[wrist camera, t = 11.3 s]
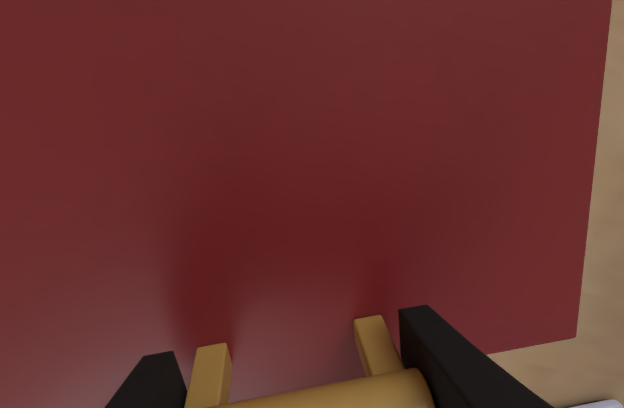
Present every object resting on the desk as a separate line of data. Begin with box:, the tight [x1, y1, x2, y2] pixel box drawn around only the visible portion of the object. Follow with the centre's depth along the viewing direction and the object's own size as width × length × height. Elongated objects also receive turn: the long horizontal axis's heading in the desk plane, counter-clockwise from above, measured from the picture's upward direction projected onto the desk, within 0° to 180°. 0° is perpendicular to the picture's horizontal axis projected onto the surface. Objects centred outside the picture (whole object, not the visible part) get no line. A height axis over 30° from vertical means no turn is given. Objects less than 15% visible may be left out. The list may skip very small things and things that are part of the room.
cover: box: [0, 0, 612, 408], centre depth 7 cm, size 10×14×4 cm
